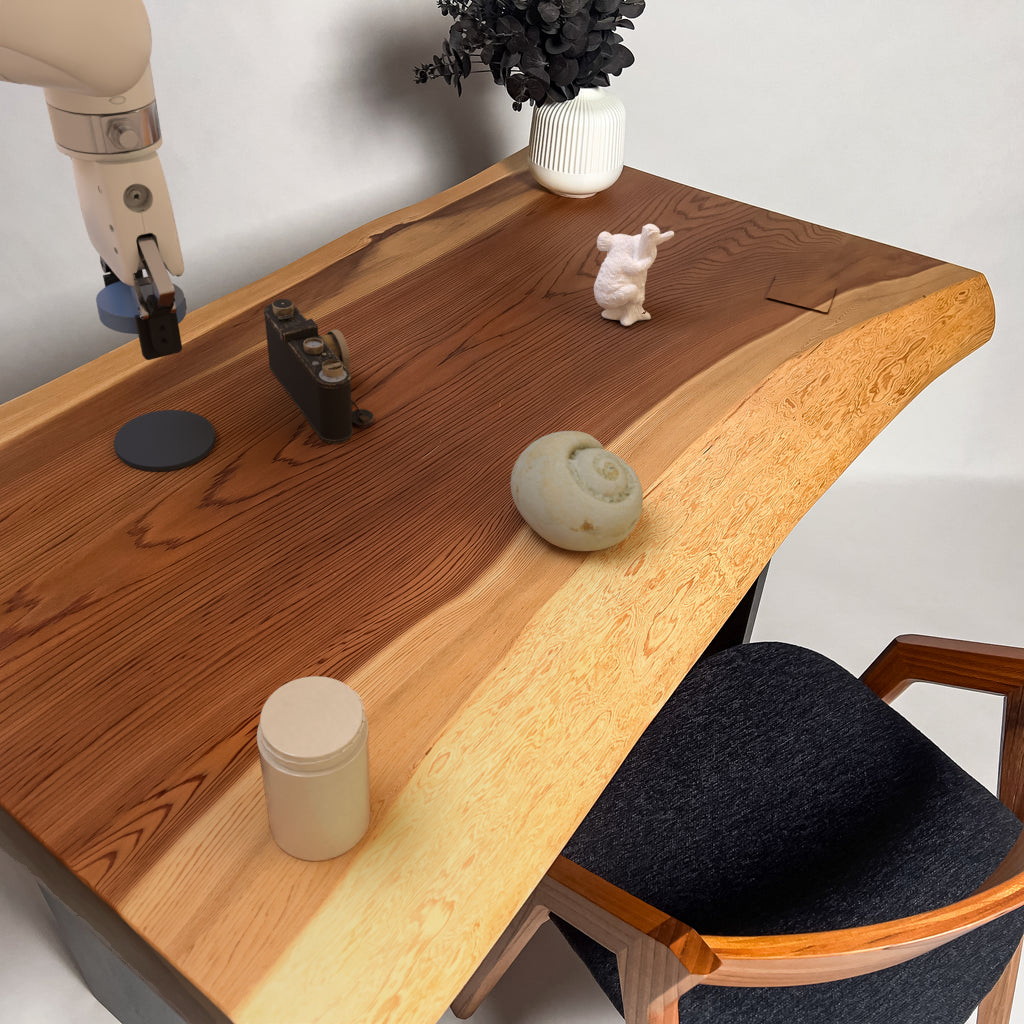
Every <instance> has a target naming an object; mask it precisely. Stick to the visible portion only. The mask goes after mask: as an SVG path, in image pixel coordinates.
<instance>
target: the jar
mask: <svg viewBox="0 0 1024 1024" xmlns="http://www.w3.org/2000/svg"><path fill="white" fill-rule="evenodd" d="M369 731H370V730H369V721H368V717H367V714H366V709H365V705H364V703H363V700H362V698H361V696H360V695H359V693H358V692H357V690H356V689H354V690H353V689H352V688H351V687H350V686H348V685H347V684H346V683H345V682H342V681H340V680H339V679H335V678H334V677H333V678H332V677H329V676H321V675H320V676H319V675H318V676H316V675H313V676H312V675H311V676H304V677H299V678H296V679H294V680H291V681H288V682H287V683H284V684H283V685H282V686H279V687H278V688H277V689H276V690H274V691H273V693H271V694H270V695H269V697H268V698H267V700H266V701H265V702H264V705H263V706H262V709H261V711H260V716H259V724H258V726H257V731H256V744H257V751H258V758H259V765H260V770H261V777H262V784H263V791H264V796H265V803H266V811H267V817H268V825H269V830H270V833H271V836H272V838H273V840H274V841H275V843H276V844H277V845H278V847H279V848H280V849H281V850H282V851H283V852H285V853H286V854H288V855H289V856H292V857H294V858H296V859H300V860H304V861H310V862H320V861H327V860H331V859H334V858H335V859H336V858H337V857H340V856H342V855H344V854H345V853H347V852H349V851H350V850H351V849H352V848H354V847H355V846H356V845H357V844H358V843H360V841H361V839H362V838H363V837H364V835H365V833H366V832H367V830H368V827H369V825H370V820H371V773H370V772H371V771H370V736H369V735H370V733H369Z"/></svg>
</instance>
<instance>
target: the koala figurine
mask: <svg viewBox="0 0 1024 1024" xmlns="http://www.w3.org/2000/svg"><path fill="white" fill-rule="evenodd" d="M673 237H675V232H674V231H673V230H668V231H666V232H664V233H661V230H660V228H659V227H658V226H657V225H655V224H654V223H647V224H645V225H643V226H642V229H641V233H638V234H636V235H629V234H624V233H615V234H611V233H610V232H609V231H602V232H600V233H599V235H598V236H597V239H596V248H597V250H598V251H600V252H606V256H605V258H604V259H603V260H604V261H603V262H601V264H600V268H599V270H598V273H597V276H596V279H595V282H594V284H593V295H594V299H595V302H596V303H597V305H598V306H600V307H601V308H602V309H604V310H603V311H602V312H601V316H602V318H604V319H606V320H611V321H612V320H613V321H614V320H615V321H619V322H620V324H621V325H622V326H624V327H628V326H632V324H634V323H636V322H638V321H646V320H651V319H652V318H651V314H650V313H649V312H648V311H646V310H645V309H644V308H643V304H644V301H645V300H646V298H645V294H646V283H647V277H648V270H649V268H651V266H652V265H653V263H654V262H655V260H656V258H657V255H658V254H657V253H658V249H657V246H658V245H661V244H662V243H665V242H667V241H669V240H670V239H672V238H673ZM645 311H646V313H645V314H642V313H643V312H645Z"/></svg>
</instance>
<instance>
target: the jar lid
mask: <svg viewBox="0 0 1024 1024" xmlns="http://www.w3.org/2000/svg"><path fill="white" fill-rule="evenodd" d="M137 279H138V278H137ZM172 284H173V287H174V290H175V296H174V298H175V305H176V314H177V320H178V325H179V324H180V323H182V321H183V320H184V319H185V317H186V315H187V310H188V307H187V301H186V297H185V293H184V291H183V289H182V288H181V287H180V286H178V285H176V284H175V283H173V282H172ZM140 287H141V290H142V293H143V296H144V299H145V302H146V299H147V297H148V295H152V294H153V293H152V285H151V284H149V285H144V286H140ZM95 302H96V307H97V313H98V318H99V320H100V321H99V322H101V323H102V325H103V326H105V327H106V328H108V329H110V330H112V331H115V332H118V333H123V334H129V335H138V331H137V326H136V320H135V315H139V313H138V310H137V307H136V304H135V301H134V297H133V294H132V291H131V288H130V286H129V285H127V284H125V283H123V282H122V281H119V282H116V283H113V284H111V285H108V286H107V287H105V286H104V287H103V288H102V289H101V290H100V291H99V292H98V293H97V294H96V298H95Z"/></svg>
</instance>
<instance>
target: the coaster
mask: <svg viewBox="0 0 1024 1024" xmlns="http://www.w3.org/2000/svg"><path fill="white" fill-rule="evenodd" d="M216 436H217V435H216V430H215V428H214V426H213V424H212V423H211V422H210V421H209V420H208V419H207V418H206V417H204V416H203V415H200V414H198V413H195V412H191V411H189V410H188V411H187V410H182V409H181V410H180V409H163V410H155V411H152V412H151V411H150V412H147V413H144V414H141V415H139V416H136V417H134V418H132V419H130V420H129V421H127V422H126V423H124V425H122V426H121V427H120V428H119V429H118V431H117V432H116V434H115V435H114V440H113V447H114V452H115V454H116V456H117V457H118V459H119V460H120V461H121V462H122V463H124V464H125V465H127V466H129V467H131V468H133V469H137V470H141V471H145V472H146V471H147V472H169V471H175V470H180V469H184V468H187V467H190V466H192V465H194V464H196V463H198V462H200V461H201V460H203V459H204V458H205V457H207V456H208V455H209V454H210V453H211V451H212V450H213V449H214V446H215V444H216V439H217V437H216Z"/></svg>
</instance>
